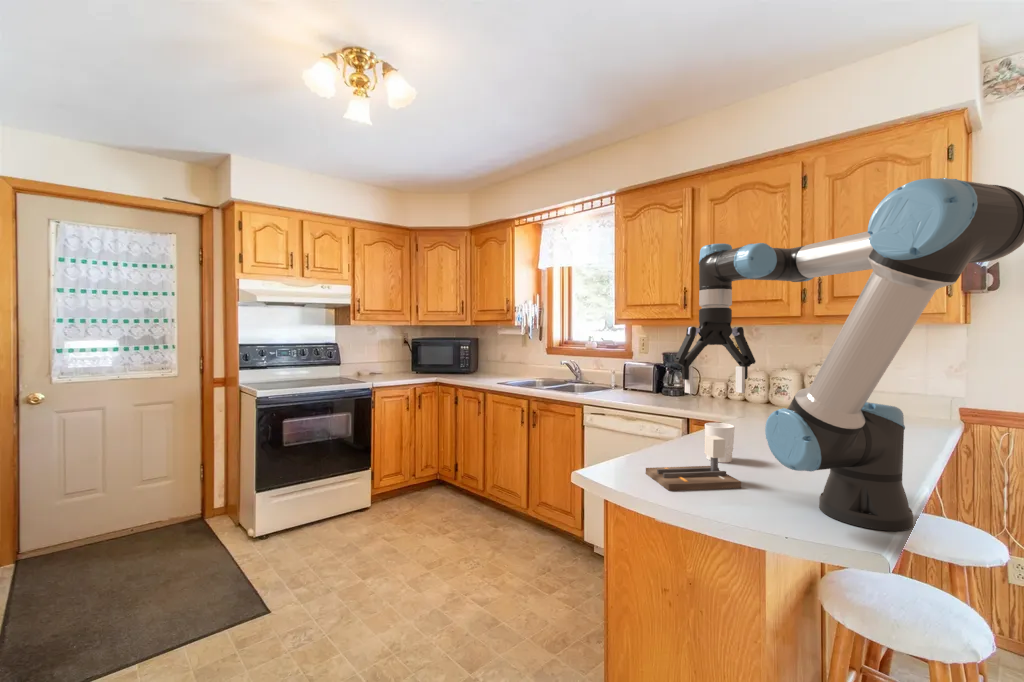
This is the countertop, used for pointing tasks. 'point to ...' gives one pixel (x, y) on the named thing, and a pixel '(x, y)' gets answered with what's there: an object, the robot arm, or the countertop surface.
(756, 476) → the countertop surface
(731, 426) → the white cup
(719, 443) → the block
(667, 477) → the board
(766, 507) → the countertop surface
